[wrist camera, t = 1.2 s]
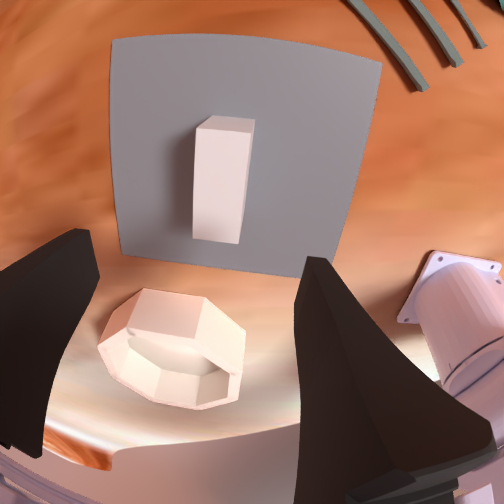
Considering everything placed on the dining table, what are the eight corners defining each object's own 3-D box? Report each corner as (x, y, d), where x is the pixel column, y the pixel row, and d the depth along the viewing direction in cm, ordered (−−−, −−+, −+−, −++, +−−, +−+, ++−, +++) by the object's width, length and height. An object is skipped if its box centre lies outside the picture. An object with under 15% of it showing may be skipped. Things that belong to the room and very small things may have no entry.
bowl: (250, 302, 25) (246, 345, 21) (238, 380, 32) (235, 414, 28) (105, 281, 24) (84, 317, 21) (130, 362, 32) (119, 393, 28)
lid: (376, 63, 14) (411, 63, 10) (324, 273, 23) (333, 320, 19) (119, 40, 14) (76, 37, 10) (126, 247, 23) (101, 287, 19)
